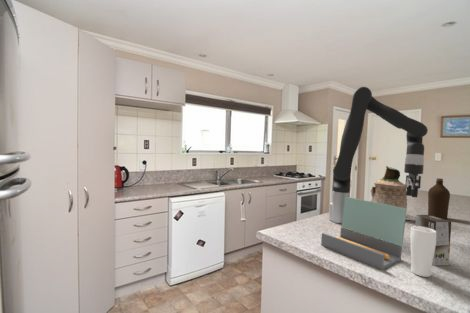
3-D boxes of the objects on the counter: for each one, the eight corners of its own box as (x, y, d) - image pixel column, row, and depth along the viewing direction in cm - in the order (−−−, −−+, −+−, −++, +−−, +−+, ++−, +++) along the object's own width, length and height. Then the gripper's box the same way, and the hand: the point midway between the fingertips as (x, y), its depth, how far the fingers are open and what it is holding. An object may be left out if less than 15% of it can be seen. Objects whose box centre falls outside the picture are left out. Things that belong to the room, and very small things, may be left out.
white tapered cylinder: (435, 281, 75) (438, 234, 74) (409, 274, 78) (411, 229, 78) (431, 272, 81) (434, 228, 80) (407, 266, 84) (409, 224, 84)
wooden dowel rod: (334, 241, 103) (334, 236, 103) (337, 240, 104) (337, 235, 104) (387, 261, 85) (388, 255, 85) (390, 259, 87) (390, 254, 87)
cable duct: (321, 244, 101) (321, 233, 101) (341, 238, 109) (342, 227, 109) (382, 269, 81) (382, 255, 81) (401, 259, 89) (401, 246, 89)
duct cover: (345, 196, 109) (346, 196, 110) (341, 227, 109) (342, 227, 109) (405, 208, 90) (406, 208, 90) (401, 245, 89) (402, 245, 90)
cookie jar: (421, 221, 142) (424, 168, 141) (380, 220, 142) (383, 166, 141) (394, 210, 167) (397, 165, 166) (359, 209, 167) (361, 164, 166)
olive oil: (439, 220, 146) (442, 179, 145) (422, 215, 156) (424, 177, 156) (453, 219, 148) (455, 179, 148) (435, 214, 159) (437, 177, 158)
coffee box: (450, 265, 86) (453, 221, 85) (433, 265, 85) (436, 221, 85) (427, 254, 95) (430, 214, 94) (412, 254, 94) (415, 214, 94)
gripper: (401, 163, 127) (398, 194, 127) (409, 162, 114) (406, 196, 113) (418, 165, 124) (415, 196, 124) (428, 164, 111) (426, 198, 111)
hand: (411, 196), depth 119 cm, fingers open, 8 cm apart
